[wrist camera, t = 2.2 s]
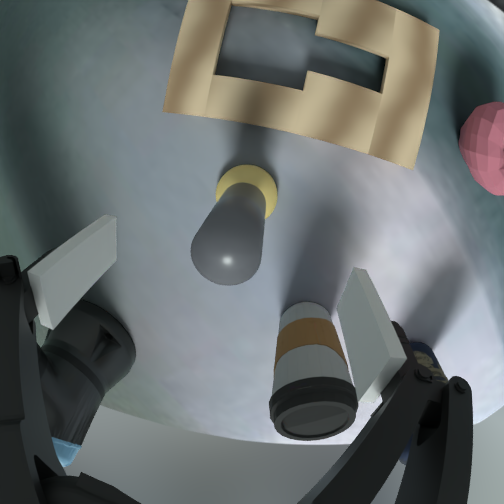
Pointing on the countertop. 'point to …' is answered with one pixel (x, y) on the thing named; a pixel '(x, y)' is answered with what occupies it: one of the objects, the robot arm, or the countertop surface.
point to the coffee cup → (310, 377)
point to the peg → (235, 226)
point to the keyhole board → (315, 77)
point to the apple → (485, 146)
